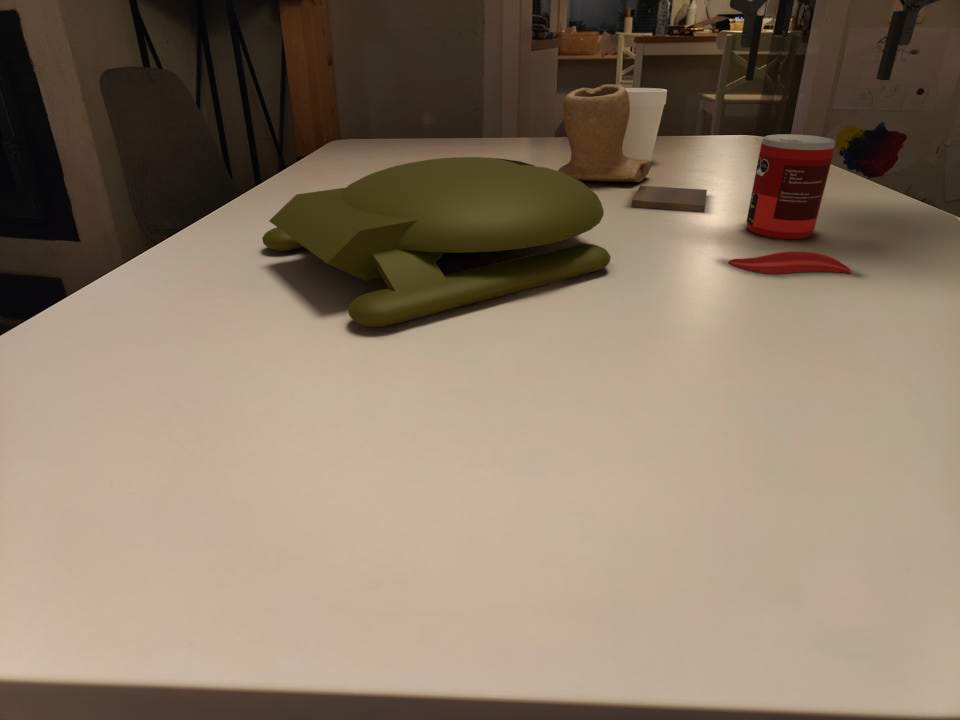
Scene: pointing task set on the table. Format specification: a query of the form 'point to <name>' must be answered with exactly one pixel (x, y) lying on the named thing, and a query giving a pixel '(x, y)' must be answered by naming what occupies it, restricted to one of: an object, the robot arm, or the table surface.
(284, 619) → the table surface
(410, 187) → the spaceship
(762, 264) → the cayenne pepper
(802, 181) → the canned food
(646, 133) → the foam cup
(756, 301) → the table surface
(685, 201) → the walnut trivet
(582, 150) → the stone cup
